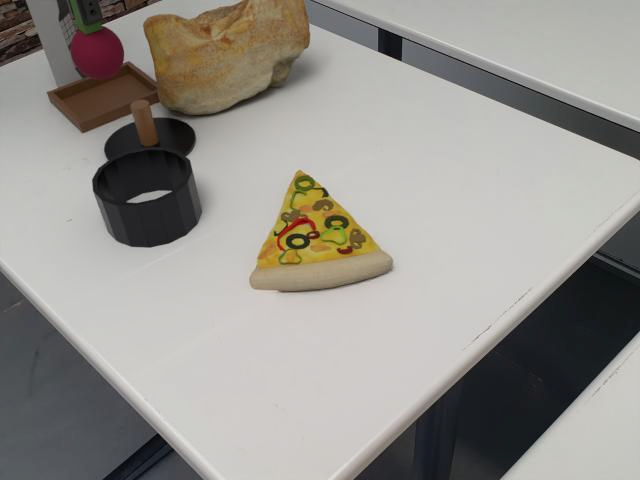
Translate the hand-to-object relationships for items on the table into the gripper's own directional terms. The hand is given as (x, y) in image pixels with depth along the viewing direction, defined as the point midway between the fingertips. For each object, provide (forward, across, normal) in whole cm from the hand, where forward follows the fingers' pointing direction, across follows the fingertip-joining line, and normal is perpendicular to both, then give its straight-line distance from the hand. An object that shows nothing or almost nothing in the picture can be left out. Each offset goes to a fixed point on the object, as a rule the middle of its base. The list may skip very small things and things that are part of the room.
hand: (87, 18), depth 73 cm
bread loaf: (+21, -13, +22) cm, 33 cm away
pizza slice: (+21, +22, +12) cm, 33 cm away
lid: (+20, -6, +5) cm, 22 cm away
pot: (+21, +8, -2) cm, 23 cm away
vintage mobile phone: (+22, -30, +5) cm, 37 cm away
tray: (+21, -21, +6) cm, 30 cm away
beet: (+7, 0, 0) cm, 7 cm away
